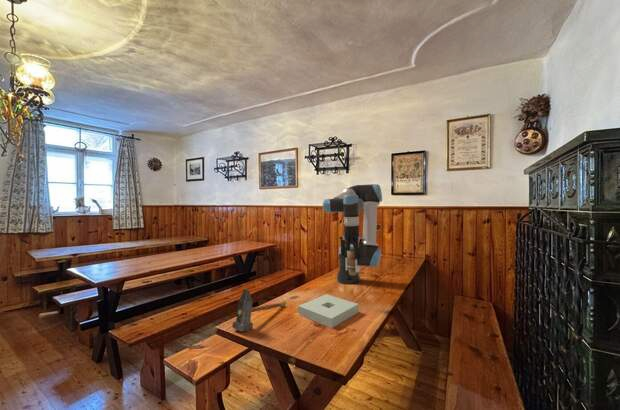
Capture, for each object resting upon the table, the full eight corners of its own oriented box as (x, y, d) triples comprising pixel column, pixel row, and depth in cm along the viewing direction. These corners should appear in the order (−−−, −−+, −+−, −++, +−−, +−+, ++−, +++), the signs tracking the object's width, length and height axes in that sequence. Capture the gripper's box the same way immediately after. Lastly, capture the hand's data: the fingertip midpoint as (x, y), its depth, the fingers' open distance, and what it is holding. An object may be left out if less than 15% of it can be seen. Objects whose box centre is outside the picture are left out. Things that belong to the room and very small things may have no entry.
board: (326, 301, 135) (325, 294, 135) (358, 312, 121) (358, 303, 121) (298, 314, 121) (298, 305, 121) (331, 328, 107) (331, 318, 107)
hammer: (290, 286, 131) (247, 291, 107) (286, 319, 129) (241, 332, 104) (281, 284, 135) (237, 288, 110) (277, 316, 132) (231, 328, 107)
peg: (351, 272, 134) (350, 249, 134) (360, 274, 131) (359, 250, 130) (345, 274, 131) (344, 251, 130) (354, 276, 127) (353, 252, 127)
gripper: (332, 224, 134) (333, 269, 134) (363, 226, 121) (364, 275, 122) (341, 223, 139) (342, 266, 140) (371, 225, 126) (372, 272, 127)
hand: (352, 270), depth 131 cm, fingers closed on peg, 5 cm apart
